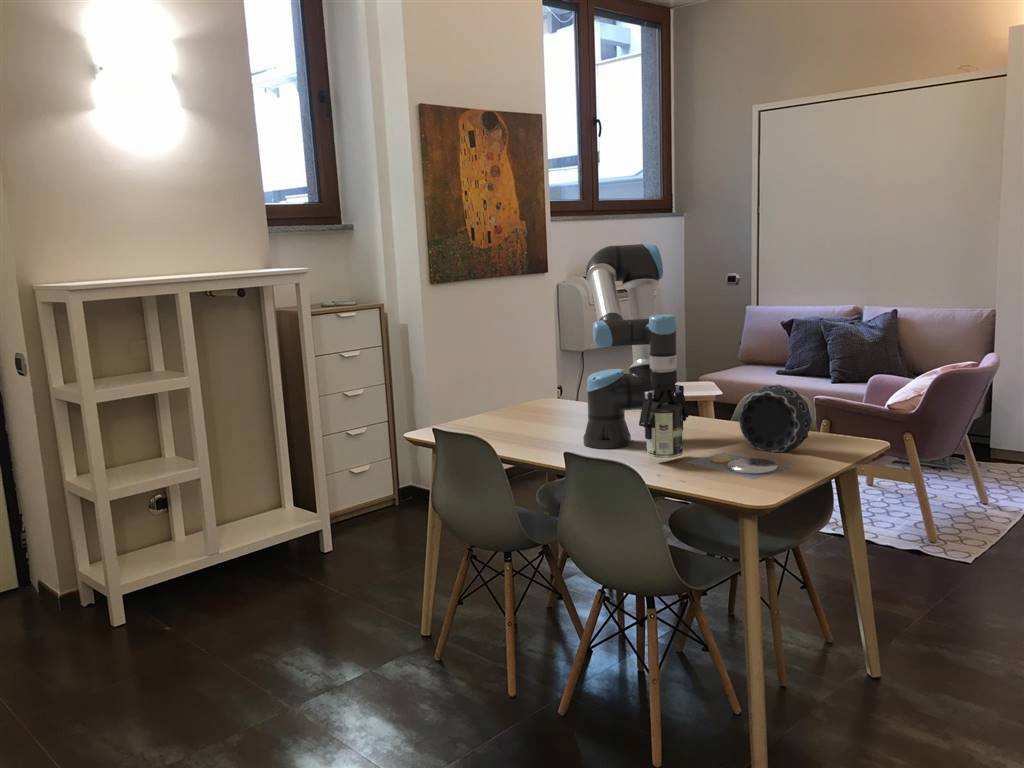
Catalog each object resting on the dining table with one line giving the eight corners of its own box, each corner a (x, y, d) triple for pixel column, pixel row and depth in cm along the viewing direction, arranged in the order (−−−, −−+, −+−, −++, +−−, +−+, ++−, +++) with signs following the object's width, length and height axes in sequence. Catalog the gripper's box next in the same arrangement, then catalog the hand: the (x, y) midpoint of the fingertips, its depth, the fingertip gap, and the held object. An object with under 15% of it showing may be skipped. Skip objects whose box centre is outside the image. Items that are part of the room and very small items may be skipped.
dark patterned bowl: (750, 445, 269) (750, 380, 266) (815, 452, 256) (815, 385, 253) (735, 452, 261) (734, 386, 258) (801, 461, 248) (801, 391, 245)
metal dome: (717, 468, 240) (717, 464, 239) (749, 459, 247) (749, 456, 247) (755, 477, 229) (755, 473, 229) (787, 468, 236) (787, 464, 236)
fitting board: (685, 467, 247) (685, 458, 247) (724, 457, 256) (724, 448, 256) (753, 484, 228) (753, 475, 228) (792, 472, 237) (792, 463, 237)
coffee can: (673, 447, 257) (673, 400, 255) (689, 455, 248) (688, 407, 245) (641, 450, 255) (640, 403, 252) (655, 459, 245) (654, 410, 242)
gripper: (643, 377, 237) (644, 456, 241) (701, 365, 250) (701, 441, 254) (624, 373, 243) (626, 451, 248) (682, 363, 256) (683, 436, 260)
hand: (664, 446), depth 251 cm, fingers closed on coffee can, 10 cm apart
